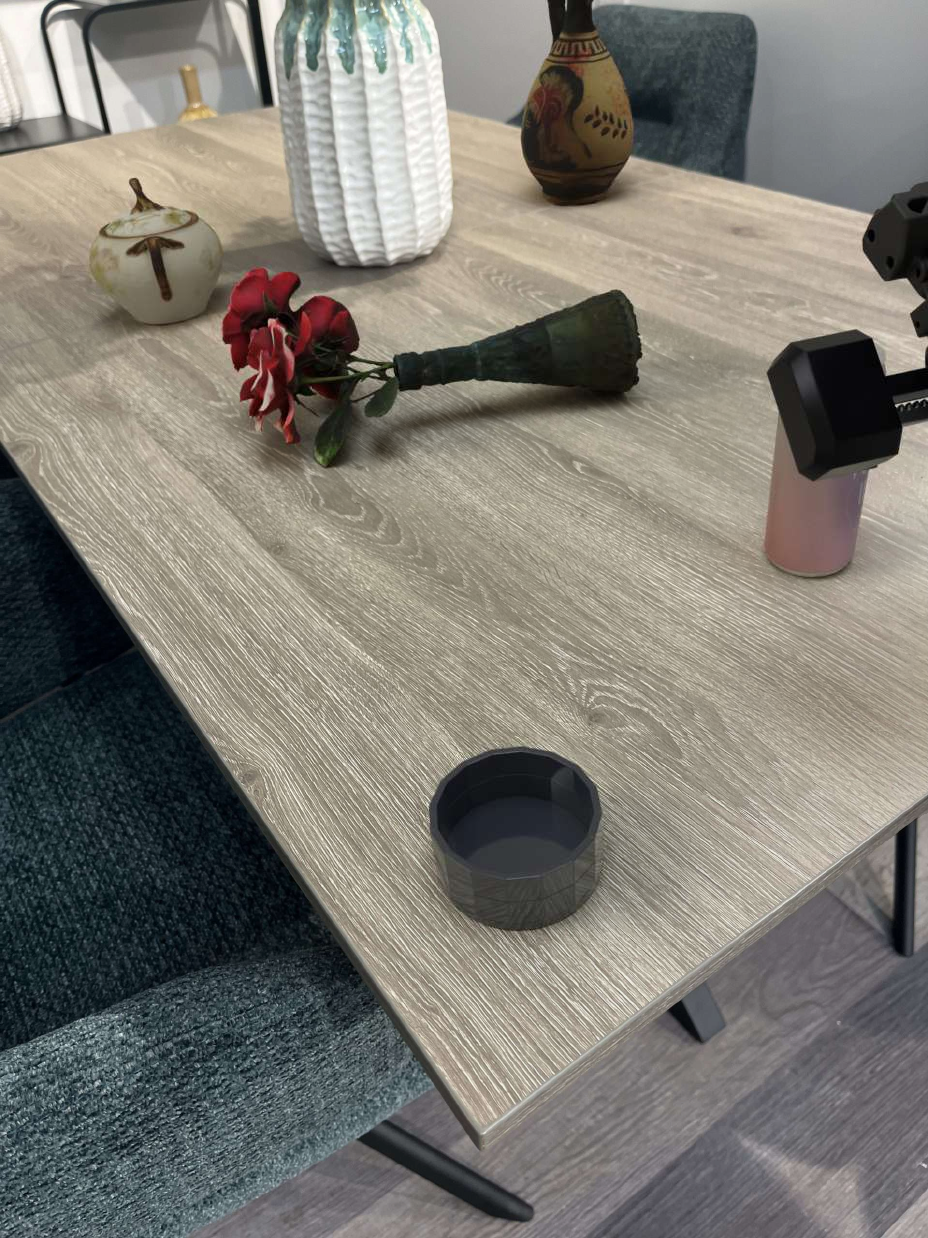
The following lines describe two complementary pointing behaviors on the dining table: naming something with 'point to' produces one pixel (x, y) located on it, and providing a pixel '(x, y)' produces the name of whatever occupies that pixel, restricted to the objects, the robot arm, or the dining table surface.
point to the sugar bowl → (157, 261)
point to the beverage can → (812, 513)
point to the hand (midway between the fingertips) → (879, 437)
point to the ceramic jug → (576, 112)
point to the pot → (517, 837)
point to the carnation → (410, 355)
